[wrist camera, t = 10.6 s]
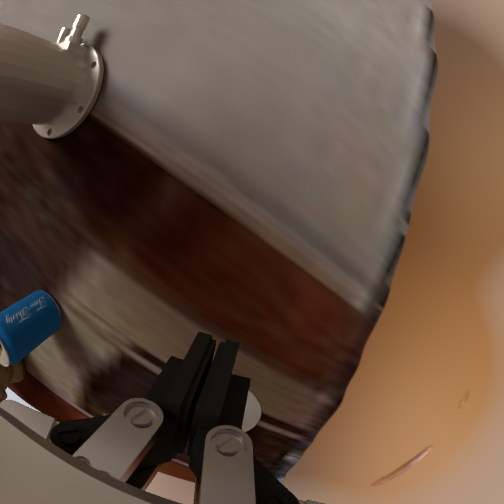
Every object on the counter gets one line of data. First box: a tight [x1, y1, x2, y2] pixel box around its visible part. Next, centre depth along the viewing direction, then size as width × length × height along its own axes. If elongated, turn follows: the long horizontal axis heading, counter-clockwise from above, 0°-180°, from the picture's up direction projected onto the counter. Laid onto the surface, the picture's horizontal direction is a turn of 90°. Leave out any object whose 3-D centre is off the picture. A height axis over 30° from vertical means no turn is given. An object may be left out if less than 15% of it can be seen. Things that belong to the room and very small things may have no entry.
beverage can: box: [0, 290, 61, 367], centre depth 27 cm, size 6×6×12 cm
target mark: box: [242, 390, 261, 432], centre depth 33 cm, size 12×12×1 cm
